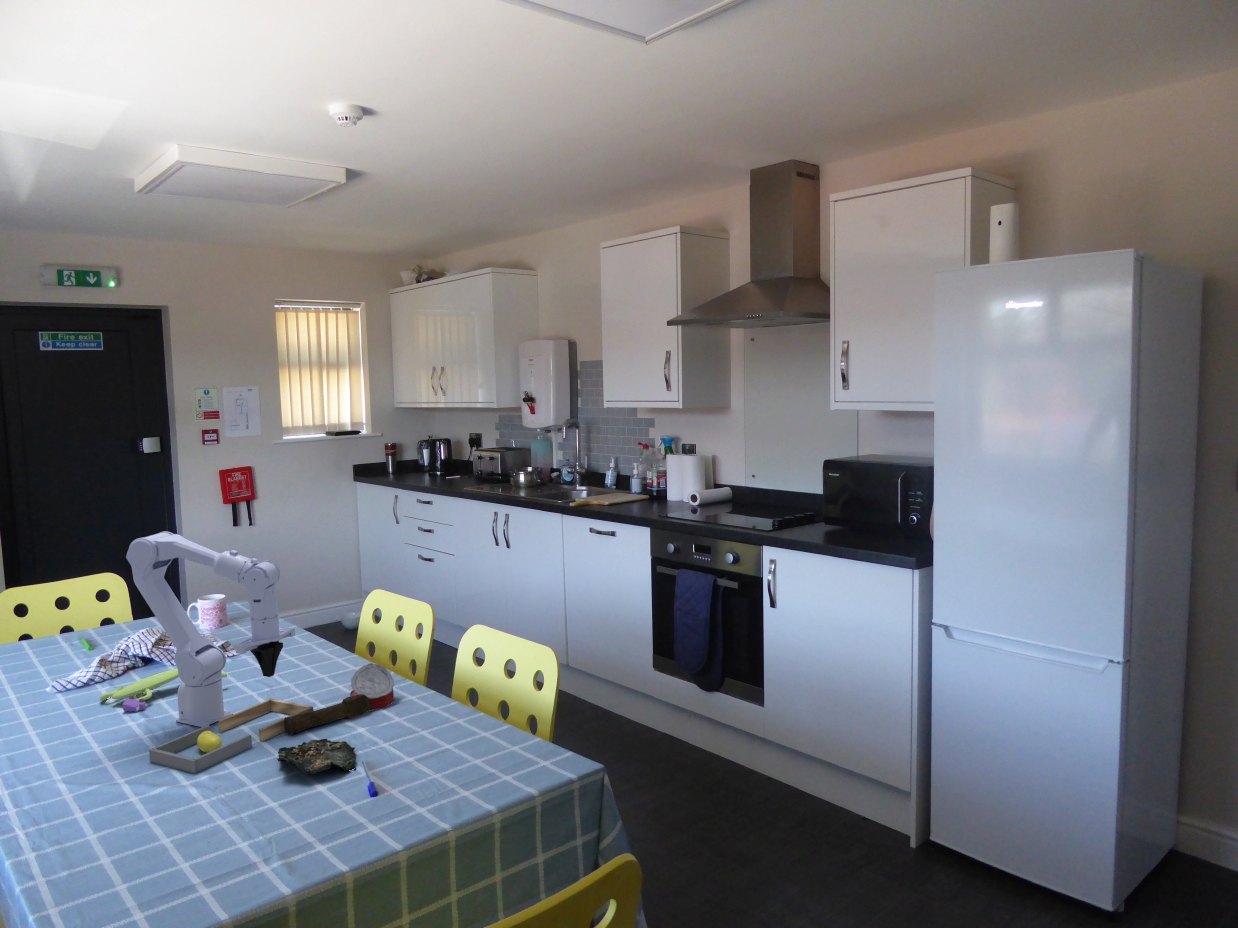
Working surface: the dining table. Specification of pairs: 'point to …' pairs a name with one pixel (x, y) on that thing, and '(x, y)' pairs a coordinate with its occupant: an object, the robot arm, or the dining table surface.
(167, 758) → the grey frame
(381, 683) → the canned food
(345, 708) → the hand tool
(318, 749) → the decorative rock
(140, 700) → the figurine
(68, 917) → the dining table surface
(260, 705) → the oak frame
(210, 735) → the lemon
